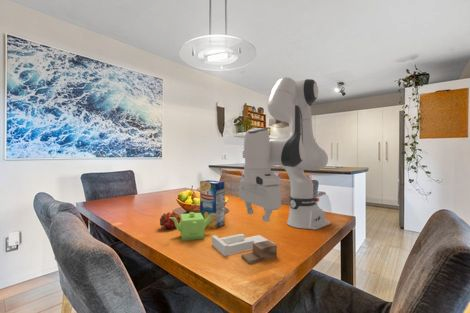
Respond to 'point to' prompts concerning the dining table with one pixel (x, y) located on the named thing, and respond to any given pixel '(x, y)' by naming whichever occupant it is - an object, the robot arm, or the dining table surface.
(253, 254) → the block
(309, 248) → the dining table surface
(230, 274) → the dining table surface
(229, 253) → the shallow white tray
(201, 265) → the dining table surface
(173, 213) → the dark red lumpy cluster
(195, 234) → the kettle
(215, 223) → the beverage box
